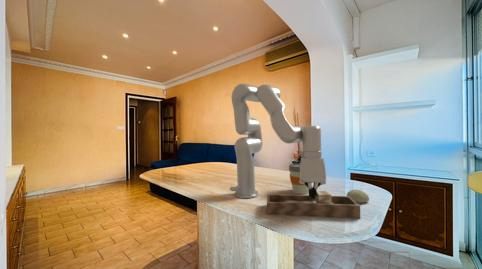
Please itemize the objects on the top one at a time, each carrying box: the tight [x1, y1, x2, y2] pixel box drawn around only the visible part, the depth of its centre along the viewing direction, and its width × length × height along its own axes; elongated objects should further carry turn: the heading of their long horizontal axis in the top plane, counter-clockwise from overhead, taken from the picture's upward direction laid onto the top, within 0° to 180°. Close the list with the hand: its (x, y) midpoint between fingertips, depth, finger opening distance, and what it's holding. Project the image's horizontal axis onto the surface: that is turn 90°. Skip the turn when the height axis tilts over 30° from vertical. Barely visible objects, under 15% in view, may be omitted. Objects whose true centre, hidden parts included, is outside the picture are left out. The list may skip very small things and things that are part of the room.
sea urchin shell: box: [346, 189, 370, 204], centre depth 96 cm, size 9×8×8 cm
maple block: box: [316, 190, 332, 204], centre depth 84 cm, size 5×5×5 cm
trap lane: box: [266, 193, 361, 219], centre depth 85 cm, size 36×11×5 cm, turn 81°
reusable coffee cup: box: [288, 162, 309, 195], centre depth 112 cm, size 13×13×15 cm
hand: (312, 197), depth 85 cm, fingers closed
